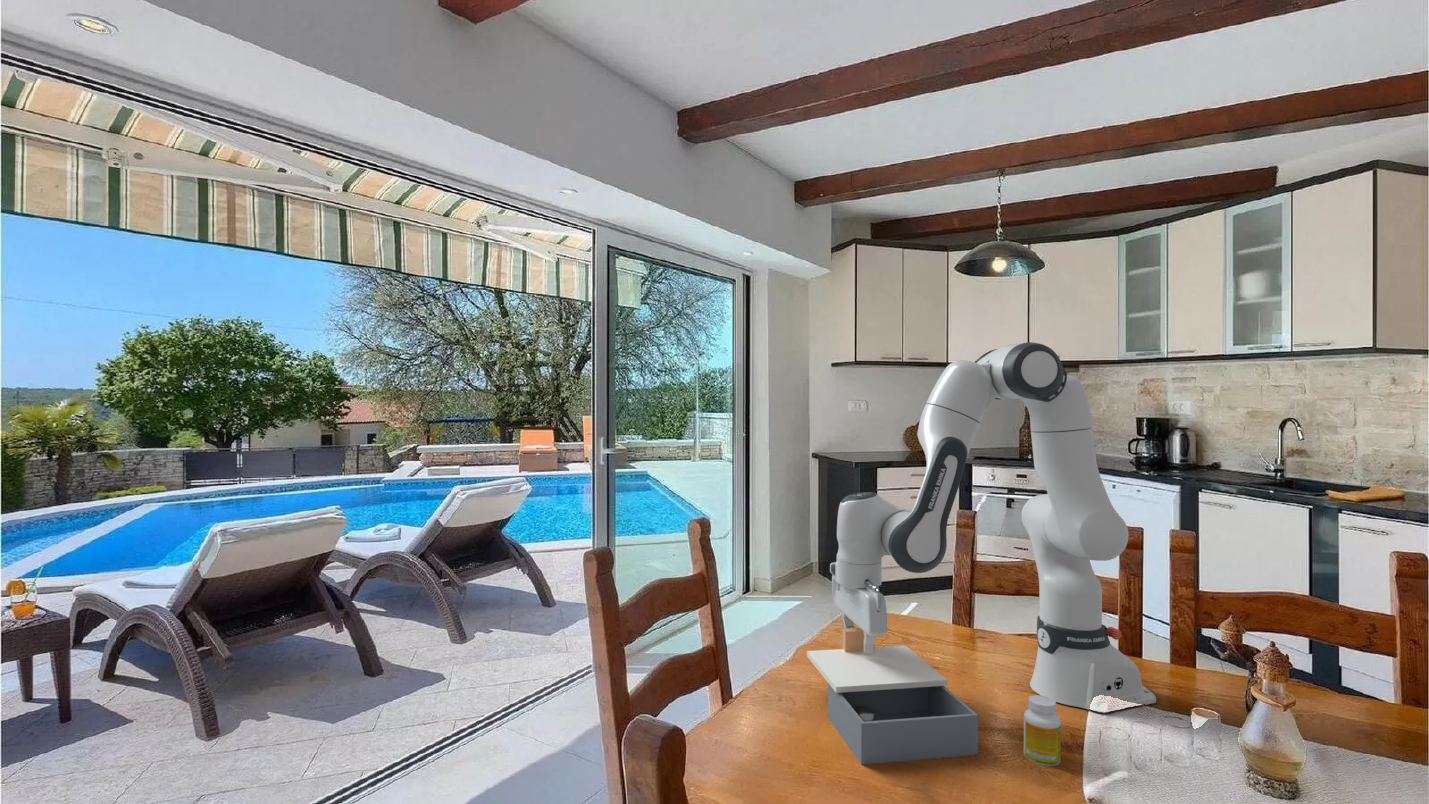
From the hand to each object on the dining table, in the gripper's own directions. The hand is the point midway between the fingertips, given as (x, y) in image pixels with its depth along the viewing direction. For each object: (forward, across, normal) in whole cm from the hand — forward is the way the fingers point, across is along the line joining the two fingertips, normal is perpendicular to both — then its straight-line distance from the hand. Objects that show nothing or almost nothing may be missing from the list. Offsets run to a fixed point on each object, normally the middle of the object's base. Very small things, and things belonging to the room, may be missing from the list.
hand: (858, 643), depth 131 cm
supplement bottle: (+10, -29, -20) cm, 36 cm away
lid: (+2, -8, 0) cm, 8 cm away
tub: (+10, -19, 0) cm, 21 cm away
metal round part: (+9, -16, +5) cm, 19 cm away
